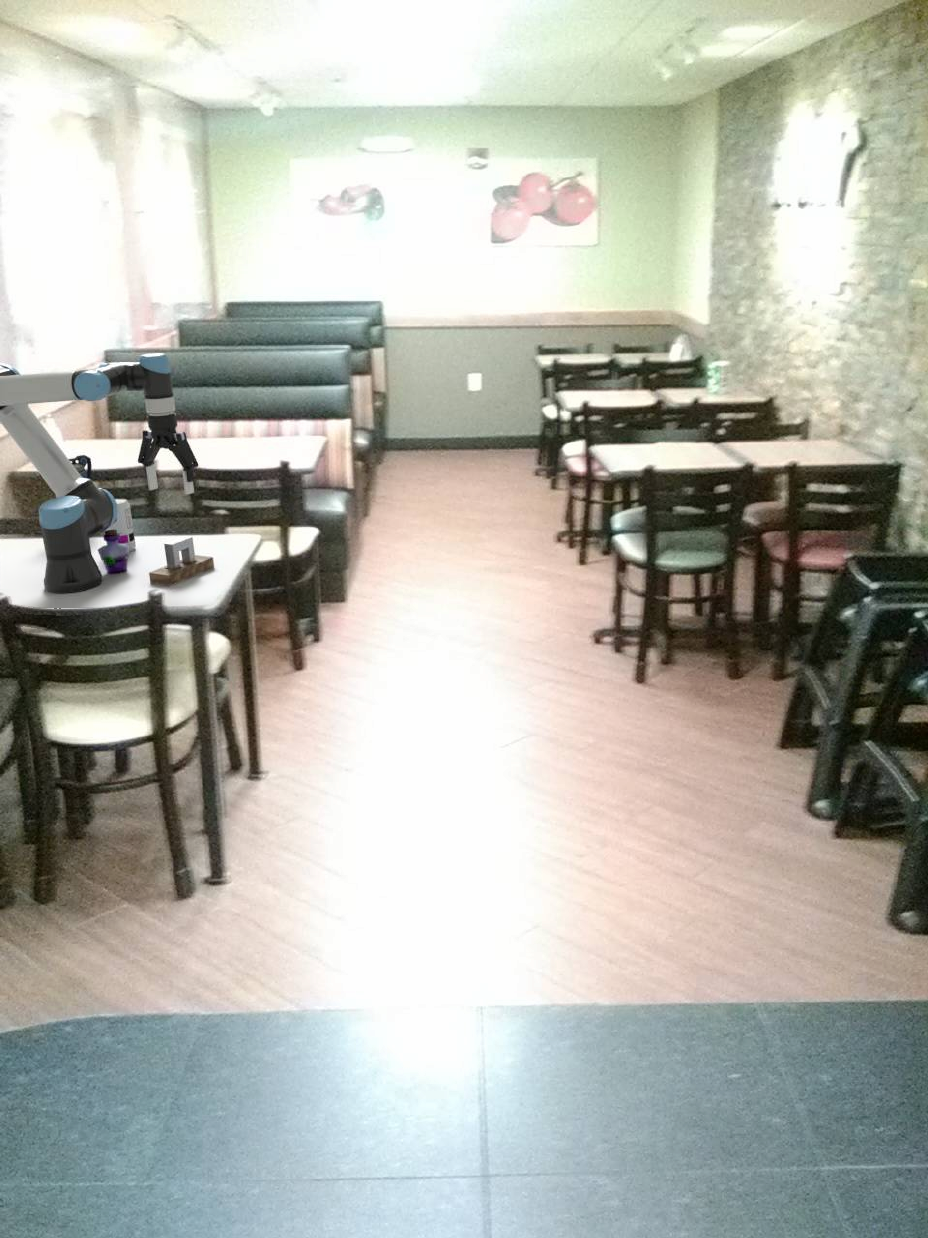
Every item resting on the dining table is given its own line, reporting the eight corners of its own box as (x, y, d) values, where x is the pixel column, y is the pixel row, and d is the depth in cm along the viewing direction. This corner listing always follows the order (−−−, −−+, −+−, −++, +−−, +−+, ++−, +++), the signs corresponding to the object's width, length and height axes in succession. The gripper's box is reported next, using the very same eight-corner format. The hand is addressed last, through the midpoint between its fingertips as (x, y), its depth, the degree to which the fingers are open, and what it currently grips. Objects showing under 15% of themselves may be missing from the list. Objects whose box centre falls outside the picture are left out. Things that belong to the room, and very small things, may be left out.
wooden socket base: (169, 586, 309) (168, 575, 308) (150, 583, 312) (148, 572, 311) (214, 567, 323) (213, 557, 322) (195, 564, 326) (194, 554, 326)
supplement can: (119, 555, 340) (111, 506, 335) (102, 551, 345) (94, 503, 340) (141, 548, 346) (134, 500, 341) (124, 545, 351) (117, 497, 346)
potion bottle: (100, 577, 319) (94, 535, 315) (101, 569, 327) (95, 528, 323) (132, 573, 321) (126, 532, 317) (132, 565, 329) (126, 524, 325)
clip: (177, 577, 314) (172, 544, 310) (168, 576, 315) (164, 543, 312) (196, 569, 320) (192, 536, 317) (188, 568, 321) (184, 535, 318)
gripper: (205, 413, 302) (214, 492, 310) (138, 408, 315) (148, 484, 322) (185, 418, 296) (195, 498, 304) (117, 413, 309) (128, 490, 316)
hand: (171, 491), depth 313 cm, fingers open, 13 cm apart
